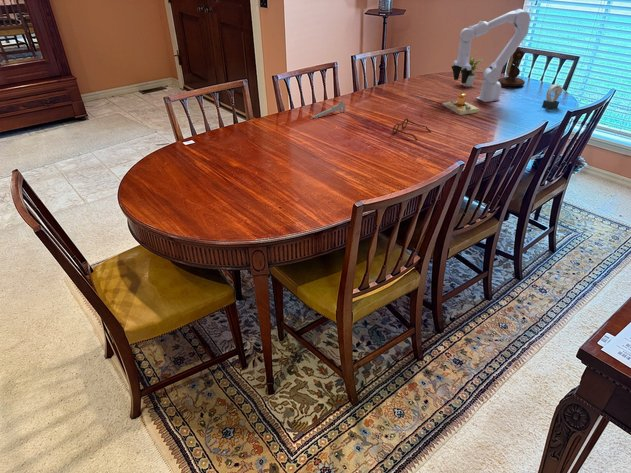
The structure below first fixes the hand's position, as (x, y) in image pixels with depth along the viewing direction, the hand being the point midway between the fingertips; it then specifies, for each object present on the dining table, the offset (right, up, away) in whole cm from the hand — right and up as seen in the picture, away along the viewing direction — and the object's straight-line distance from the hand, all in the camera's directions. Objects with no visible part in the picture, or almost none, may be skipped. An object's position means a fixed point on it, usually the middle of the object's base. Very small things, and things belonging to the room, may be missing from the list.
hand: (459, 81), depth 230 cm
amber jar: (-3, -17, -8) cm, 19 cm away
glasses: (-33, -36, -34) cm, 59 cm away
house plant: (+14, +7, +26) cm, 31 cm away
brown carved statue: (+38, +6, +24) cm, 45 cm away
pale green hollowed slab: (-3, -17, -8) cm, 19 cm away
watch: (+42, -17, -11) cm, 46 cm away
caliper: (-70, -21, -9) cm, 74 cm away
